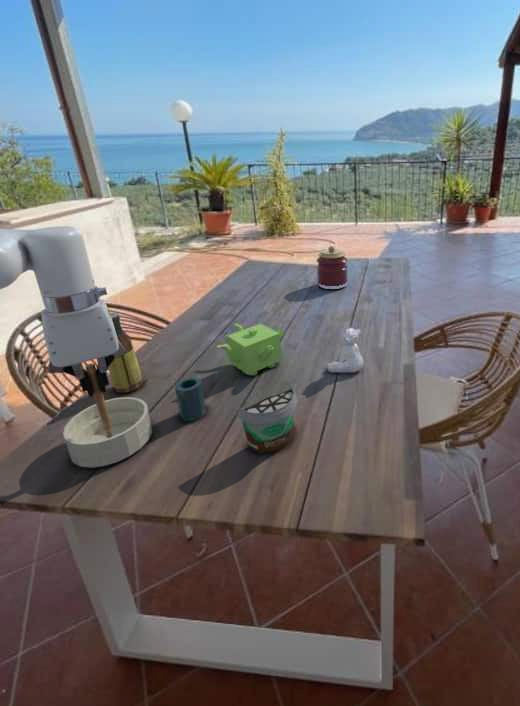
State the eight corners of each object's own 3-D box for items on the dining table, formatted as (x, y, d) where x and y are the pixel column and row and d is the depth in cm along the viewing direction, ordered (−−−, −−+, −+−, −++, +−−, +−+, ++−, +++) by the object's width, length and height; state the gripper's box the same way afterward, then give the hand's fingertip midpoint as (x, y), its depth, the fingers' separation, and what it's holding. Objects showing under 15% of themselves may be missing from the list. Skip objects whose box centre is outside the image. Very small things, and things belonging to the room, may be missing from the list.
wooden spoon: (107, 445, 75) (85, 369, 69) (106, 437, 77) (85, 363, 71) (115, 442, 76) (95, 367, 70) (114, 435, 78) (94, 361, 72)
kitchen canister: (342, 291, 162) (342, 250, 156) (313, 289, 165) (311, 249, 159) (350, 282, 174) (350, 243, 168) (323, 279, 177) (321, 241, 171)
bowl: (52, 465, 74) (43, 439, 72) (109, 416, 87) (103, 394, 85) (119, 474, 71) (111, 448, 69) (167, 423, 85) (162, 400, 83)
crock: (176, 420, 86) (170, 389, 83) (189, 405, 90) (184, 376, 88) (197, 422, 85) (192, 391, 82) (210, 408, 90) (205, 378, 87)
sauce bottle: (140, 377, 102) (124, 307, 95) (145, 388, 97) (129, 315, 90) (111, 386, 98) (92, 314, 91) (115, 398, 93) (96, 323, 87)
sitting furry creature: (344, 356, 112) (343, 318, 108) (370, 363, 108) (371, 324, 104) (326, 371, 104) (324, 331, 100) (354, 380, 100) (353, 338, 96)
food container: (255, 468, 73) (249, 424, 69) (241, 449, 77) (236, 407, 74) (310, 438, 80) (308, 397, 77) (295, 423, 85) (292, 384, 81)
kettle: (221, 381, 100) (215, 342, 96) (235, 354, 113) (230, 318, 110) (280, 379, 101) (276, 340, 97) (286, 352, 114) (284, 317, 110)
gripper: (121, 284, 74) (140, 369, 80) (14, 303, 65) (45, 396, 71) (126, 296, 68) (146, 386, 74) (10, 318, 59) (44, 417, 66)
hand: (97, 390), depth 73 cm, fingers closed on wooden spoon, 1 cm apart
